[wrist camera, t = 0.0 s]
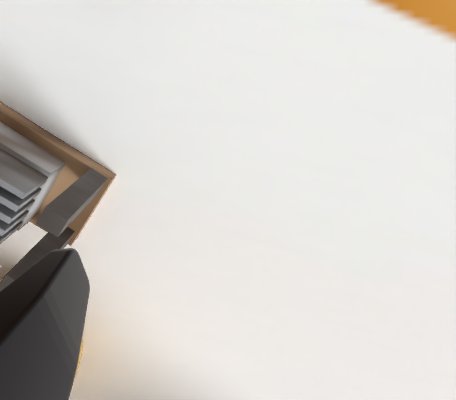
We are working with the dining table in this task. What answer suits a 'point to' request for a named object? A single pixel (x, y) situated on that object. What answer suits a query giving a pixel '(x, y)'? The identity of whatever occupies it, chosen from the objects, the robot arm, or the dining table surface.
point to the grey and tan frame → (44, 187)
